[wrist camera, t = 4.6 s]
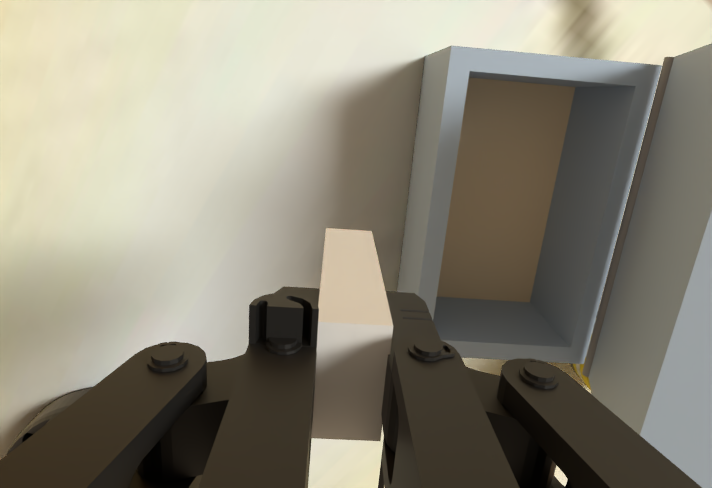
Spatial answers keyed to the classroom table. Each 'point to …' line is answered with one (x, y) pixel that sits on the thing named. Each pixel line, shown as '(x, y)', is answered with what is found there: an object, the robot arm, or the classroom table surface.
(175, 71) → the classroom table surface
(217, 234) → the classroom table surface
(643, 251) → the lid
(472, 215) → the box
